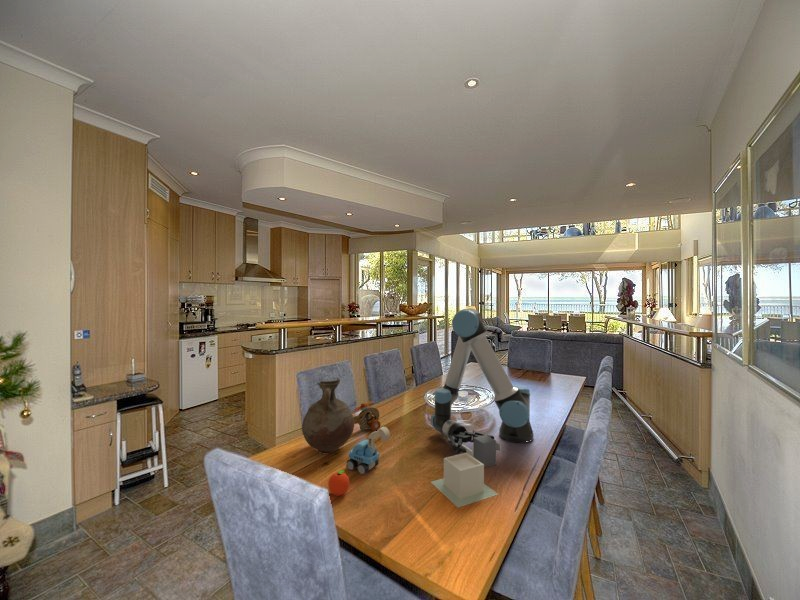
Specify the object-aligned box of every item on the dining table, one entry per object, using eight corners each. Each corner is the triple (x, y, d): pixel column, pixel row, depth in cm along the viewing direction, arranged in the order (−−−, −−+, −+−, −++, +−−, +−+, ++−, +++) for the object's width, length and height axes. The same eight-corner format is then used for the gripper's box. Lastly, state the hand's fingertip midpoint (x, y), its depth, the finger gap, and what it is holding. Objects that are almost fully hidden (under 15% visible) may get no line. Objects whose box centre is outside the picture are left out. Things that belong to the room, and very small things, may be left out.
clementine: (337, 484, 119) (337, 464, 119) (355, 489, 116) (355, 468, 116) (323, 497, 112) (323, 475, 112) (342, 502, 109) (342, 479, 109)
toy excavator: (380, 482, 121) (380, 433, 120) (344, 469, 130) (344, 424, 129) (393, 471, 128) (393, 425, 128) (358, 460, 137) (358, 417, 137)
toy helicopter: (382, 429, 168) (382, 401, 168) (343, 438, 157) (343, 408, 157) (374, 424, 175) (374, 397, 175) (336, 432, 164) (336, 404, 164)
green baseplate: (467, 474, 126) (467, 471, 126) (498, 497, 112) (498, 494, 112) (430, 484, 119) (430, 481, 119) (457, 510, 105) (457, 507, 105)
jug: (348, 435, 160) (348, 371, 160) (359, 456, 140) (359, 382, 140) (300, 442, 153) (300, 375, 152) (304, 465, 132) (304, 387, 132)
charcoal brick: (485, 459, 137) (485, 434, 137) (495, 466, 132) (496, 440, 132) (473, 463, 135) (473, 437, 135) (483, 470, 129) (483, 443, 129)
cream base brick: (466, 477, 122) (466, 452, 122) (483, 491, 113) (484, 464, 113) (443, 484, 118) (443, 458, 117) (460, 499, 109) (460, 470, 109)
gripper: (477, 435, 156) (511, 454, 137) (430, 445, 145) (459, 468, 126) (477, 418, 156) (511, 436, 137) (430, 427, 145) (460, 447, 126)
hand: (487, 451), depth 131 cm, fingers open, 13 cm apart
